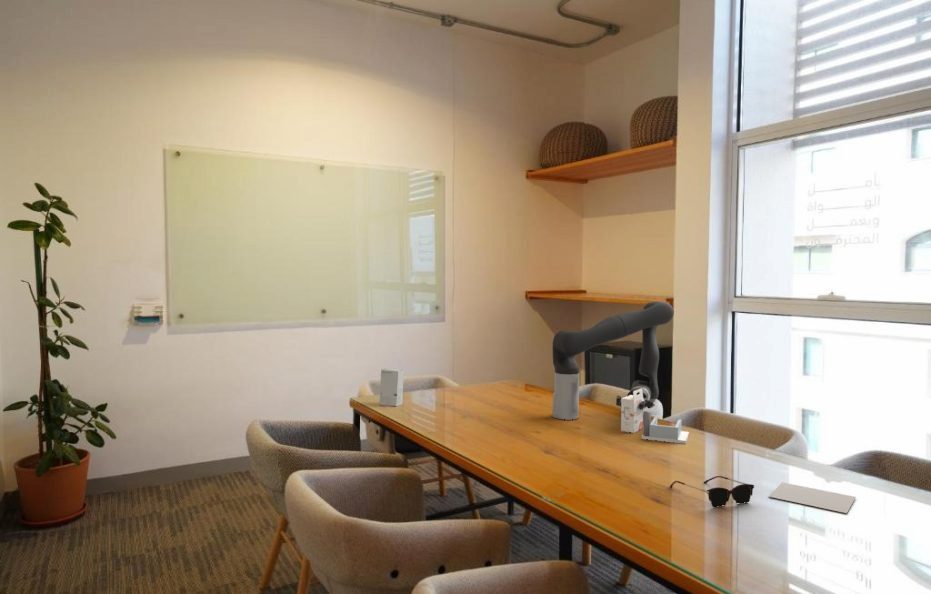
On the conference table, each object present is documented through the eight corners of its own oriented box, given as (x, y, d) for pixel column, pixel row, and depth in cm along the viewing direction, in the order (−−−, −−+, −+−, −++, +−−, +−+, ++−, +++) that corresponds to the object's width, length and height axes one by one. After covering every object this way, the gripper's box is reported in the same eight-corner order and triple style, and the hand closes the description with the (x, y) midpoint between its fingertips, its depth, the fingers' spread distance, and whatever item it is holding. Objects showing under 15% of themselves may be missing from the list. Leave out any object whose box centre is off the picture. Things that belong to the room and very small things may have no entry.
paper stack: (790, 476, 173) (790, 473, 173) (900, 497, 157) (900, 494, 157) (768, 499, 155) (768, 496, 155) (890, 525, 139) (890, 522, 139)
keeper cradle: (641, 438, 210) (642, 412, 210) (646, 430, 222) (647, 405, 222) (685, 443, 204) (686, 416, 204) (688, 434, 216) (689, 408, 216)
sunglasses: (708, 510, 147) (708, 489, 147) (665, 492, 162) (664, 472, 162) (754, 504, 152) (754, 483, 152) (708, 487, 167) (708, 468, 167)
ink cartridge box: (629, 426, 227) (630, 386, 227) (643, 428, 224) (643, 387, 224) (620, 431, 220) (620, 389, 220) (633, 433, 217) (634, 391, 217)
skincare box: (379, 405, 260) (379, 369, 260) (386, 402, 266) (386, 367, 266) (397, 406, 258) (397, 370, 257) (403, 404, 263) (404, 368, 263)
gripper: (619, 385, 238) (610, 393, 223) (658, 389, 232) (652, 396, 217) (618, 405, 238) (610, 414, 223) (658, 409, 233) (652, 418, 217)
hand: (631, 405), depth 220 cm, fingers closed on ink cartridge box, 6 cm apart
